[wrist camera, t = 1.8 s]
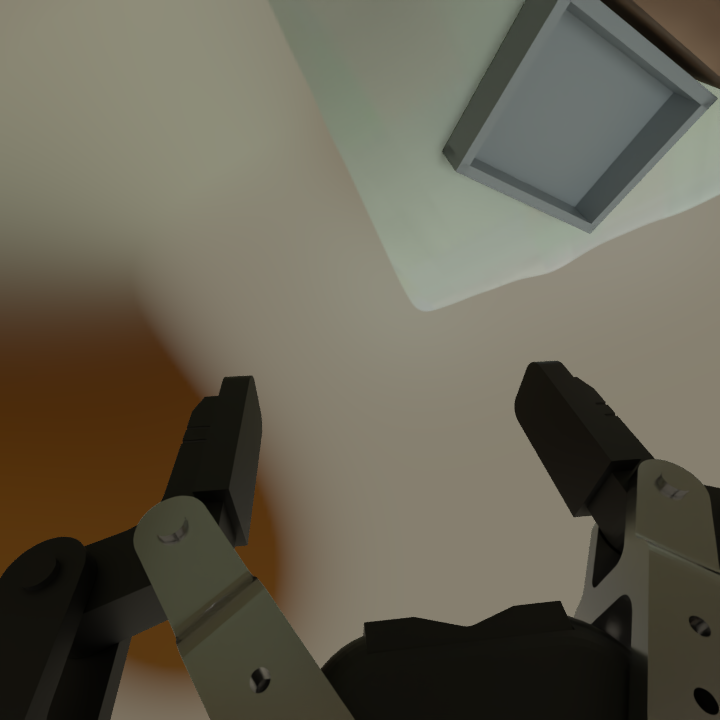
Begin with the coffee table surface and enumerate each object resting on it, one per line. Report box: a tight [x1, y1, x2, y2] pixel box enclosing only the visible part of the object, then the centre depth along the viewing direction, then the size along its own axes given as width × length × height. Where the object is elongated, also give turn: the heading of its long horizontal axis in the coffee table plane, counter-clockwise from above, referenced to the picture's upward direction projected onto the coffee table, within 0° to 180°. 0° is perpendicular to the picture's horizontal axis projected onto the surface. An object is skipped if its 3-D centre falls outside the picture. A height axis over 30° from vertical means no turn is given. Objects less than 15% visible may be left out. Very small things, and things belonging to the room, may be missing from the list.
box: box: [442, 0, 718, 233], centre depth 31 cm, size 12×16×4 cm
